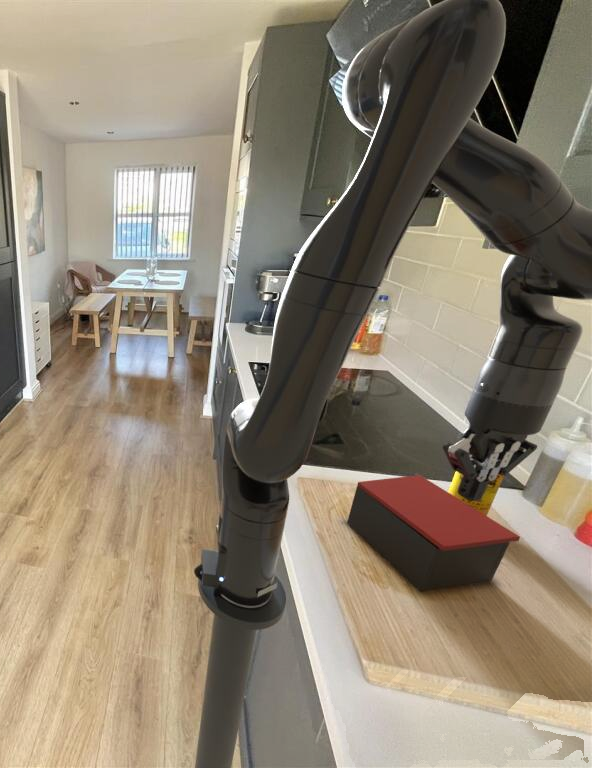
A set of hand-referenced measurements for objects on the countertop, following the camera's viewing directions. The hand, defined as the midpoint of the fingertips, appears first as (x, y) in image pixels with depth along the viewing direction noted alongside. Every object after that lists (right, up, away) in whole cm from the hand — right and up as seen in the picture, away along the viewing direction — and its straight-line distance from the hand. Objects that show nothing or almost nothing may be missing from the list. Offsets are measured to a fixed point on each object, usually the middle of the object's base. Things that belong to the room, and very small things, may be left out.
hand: (468, 497), depth 60 cm
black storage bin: (0, -12, +10) cm, 16 cm away
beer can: (+16, -9, +18) cm, 26 cm away
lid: (0, -4, +6) cm, 8 cm away
